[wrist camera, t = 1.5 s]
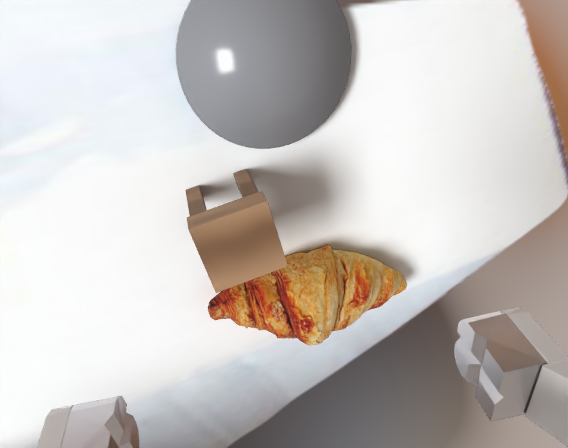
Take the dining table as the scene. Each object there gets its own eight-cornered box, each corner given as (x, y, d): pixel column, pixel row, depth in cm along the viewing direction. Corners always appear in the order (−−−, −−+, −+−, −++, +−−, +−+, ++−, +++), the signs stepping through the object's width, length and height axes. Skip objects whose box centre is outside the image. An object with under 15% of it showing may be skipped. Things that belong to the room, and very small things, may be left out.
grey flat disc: (359, 115, 40) (363, 118, 39) (211, 167, 38) (212, 170, 37) (327, -64, 33) (332, -66, 32) (145, -10, 31) (145, -10, 31)
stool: (266, 222, 42) (287, 266, 35) (205, 244, 41) (216, 292, 34) (247, 166, 39) (267, 201, 32) (182, 188, 38) (188, 229, 32)
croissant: (385, 235, 51) (424, 234, 43) (396, 322, 51) (437, 336, 43) (200, 258, 45) (206, 262, 38) (210, 356, 45) (219, 379, 38)
